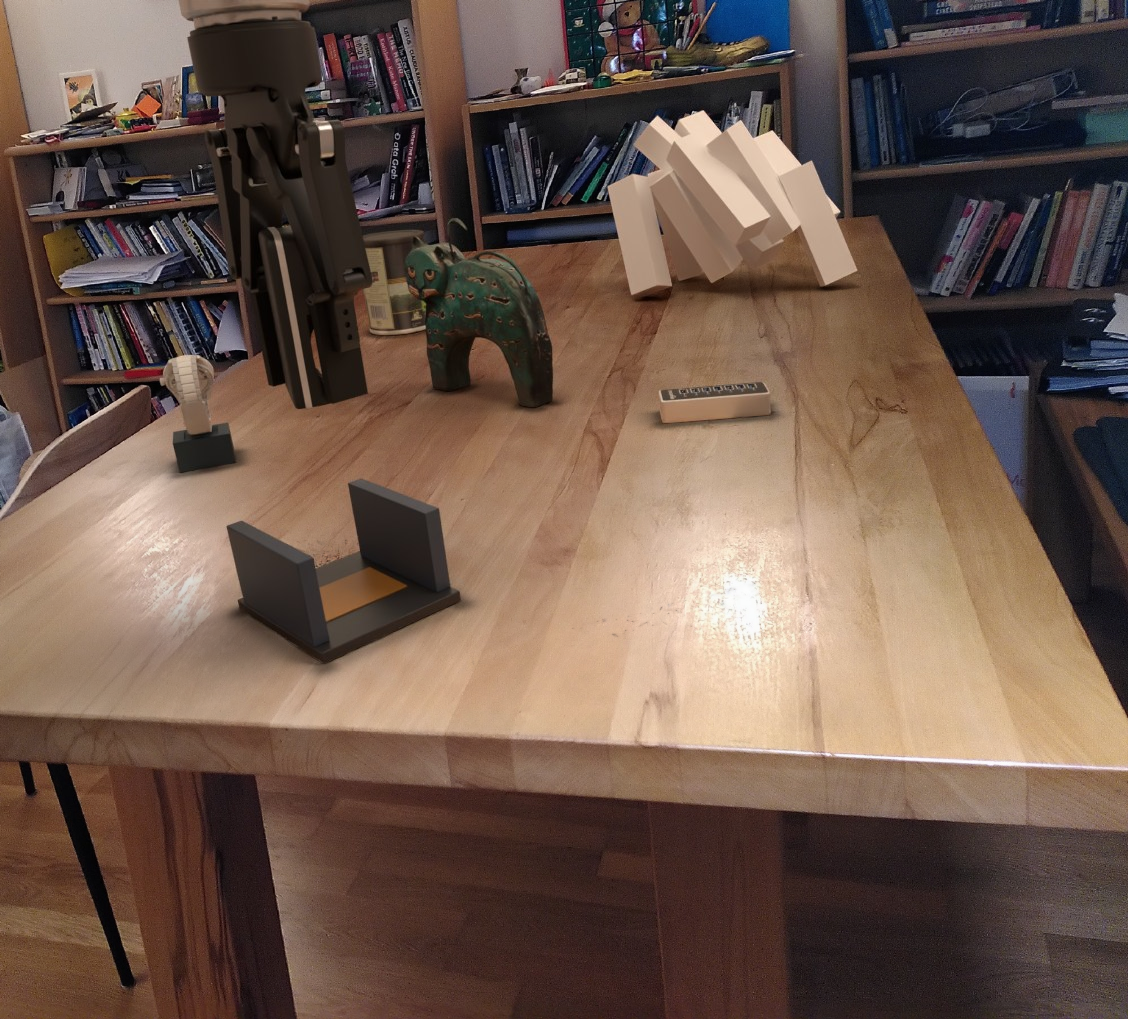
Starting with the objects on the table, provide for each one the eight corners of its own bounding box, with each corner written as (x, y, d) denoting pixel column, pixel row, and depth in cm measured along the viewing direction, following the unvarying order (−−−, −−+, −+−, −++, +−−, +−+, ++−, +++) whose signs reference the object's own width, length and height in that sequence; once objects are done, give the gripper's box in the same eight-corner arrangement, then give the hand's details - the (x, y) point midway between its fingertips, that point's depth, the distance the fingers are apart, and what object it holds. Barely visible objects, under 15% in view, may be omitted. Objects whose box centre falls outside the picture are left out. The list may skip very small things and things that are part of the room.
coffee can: (443, 318, 165) (431, 227, 159) (425, 333, 155) (412, 237, 150) (381, 322, 167) (367, 231, 161) (360, 337, 157) (344, 242, 152)
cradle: (238, 609, 75) (218, 522, 72) (369, 556, 81) (354, 475, 79) (323, 664, 66) (304, 568, 64) (461, 600, 73) (448, 511, 70)
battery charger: (354, 405, 69) (325, 228, 65) (296, 415, 68) (263, 236, 64) (339, 381, 75) (312, 219, 71) (286, 390, 74) (255, 225, 70)
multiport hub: (771, 414, 105) (770, 392, 104) (662, 423, 106) (661, 401, 105) (764, 402, 109) (763, 380, 108) (659, 410, 110) (658, 389, 109)
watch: (233, 445, 112) (211, 344, 108) (236, 467, 105) (212, 360, 101) (179, 455, 110) (154, 353, 106) (178, 478, 103) (151, 370, 99)
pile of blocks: (843, 296, 178) (767, 108, 179) (887, 252, 149) (795, 26, 150) (653, 372, 180) (578, 185, 181) (659, 344, 150) (569, 121, 151)
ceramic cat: (416, 389, 126) (391, 219, 119) (457, 376, 130) (436, 211, 123) (529, 413, 113) (509, 223, 105) (570, 397, 117) (554, 214, 110)
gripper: (395, 0, 58) (448, 397, 67) (231, 35, 72) (292, 358, 81) (274, 4, 53) (348, 429, 62) (124, 40, 68) (201, 382, 76)
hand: (316, 388), depth 71 cm, fingers closed on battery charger, 7 cm apart
